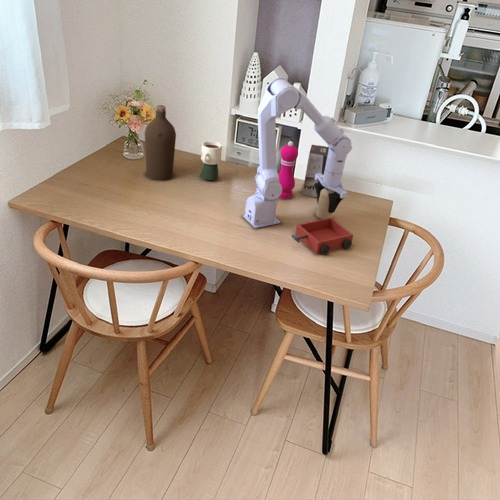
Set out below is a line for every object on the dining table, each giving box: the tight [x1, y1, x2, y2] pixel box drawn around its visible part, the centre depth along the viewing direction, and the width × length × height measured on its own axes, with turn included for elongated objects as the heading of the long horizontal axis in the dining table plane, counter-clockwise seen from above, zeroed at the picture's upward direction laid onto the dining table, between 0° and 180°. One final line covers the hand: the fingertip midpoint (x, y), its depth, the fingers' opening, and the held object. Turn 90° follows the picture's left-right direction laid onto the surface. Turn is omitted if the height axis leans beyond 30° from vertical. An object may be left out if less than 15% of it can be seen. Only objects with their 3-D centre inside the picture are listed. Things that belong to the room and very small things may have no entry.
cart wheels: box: [291, 234, 353, 255], centre depth 162 cm, size 17×13×3 cm
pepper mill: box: [278, 140, 299, 200], centre depth 183 cm, size 7×7×20 cm
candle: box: [315, 188, 334, 220], centre depth 174 cm, size 6×6×10 cm
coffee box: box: [301, 144, 330, 199], centre depth 189 cm, size 9×6×16 cm
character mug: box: [200, 140, 223, 181], centre depth 190 cm, size 11×7×13 cm, turn 158°
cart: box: [294, 217, 354, 255], centre depth 163 cm, size 13×11×4 cm
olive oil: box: [144, 104, 177, 181], centre depth 184 cm, size 11×11×25 cm
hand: (325, 208), depth 175 cm, fingers closed on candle, 5 cm apart
